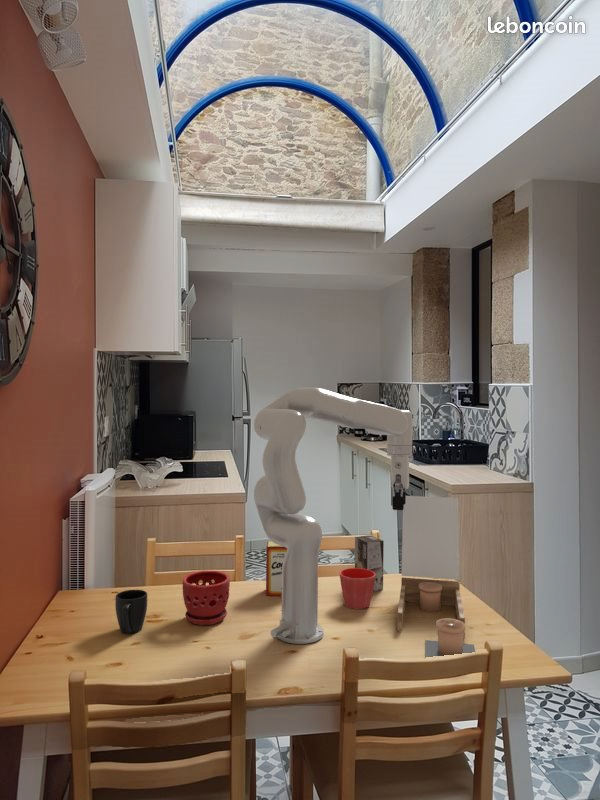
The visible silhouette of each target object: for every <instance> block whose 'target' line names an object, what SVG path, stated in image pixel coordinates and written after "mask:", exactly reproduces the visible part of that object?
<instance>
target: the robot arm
mask: <svg viewBox="0 0 600 800" xmlns="http://www.w3.org/2000/svg"><path fill="white" fill-rule="evenodd" d="M306 419H312V420H317V421H320V422H325V423H328V424H330V425H331V424H333V425H335V426H338V427H342V428H343V427H344V428H349V429H360V430H361V429H364V430H365V431H366V432H367V433H369V434H372V435H379V436H381V435H382V436H386V455H387V456H390V485H391V488H392V491H393V492H392V510H393V511H403V509H404V504H405V503H406V496H407V495H406V490H408V489H409V487H410V458H409V457H412V456H413V414H412V411H410V410H407V409H398V408H396V407H392V406H388V405H385V404H382V403H377V402H376V403H375V402H372V401H367V400H363V399H359V398H354V397H351V396H347V395H344V394H340V393H337V392H333V391H331V390H328V389H324V388H321V387H295V388H293V389H291V390H289V391H287V392H285V393H284V394H283V395H281V396H279V397H278V398H277V399H275V400H273V401H272V402H270V403H269V404H268V405H266V406H265V407H264V408H263V407H262V409H261V410H260V411H259V412H258V413H257V414H256V415H255V417H254V421H253V429H254V432H255V434H256V435H257V436H258V437H259V438H261V439H263V440H266V441H267V443H266V444H265V447H264V451H263V454H262V468H263V471H264V474H265V475H263V476H261V477H260V478H259V479H258V480H257V481H256V483H255V484H254V485H255V486H254V489H253V500H254V504H255V507H256V509H257V513H258V517H259V519H260V523H261V525H262V528H263V531H264V533H265V536H266V537H267V539H269V542H270V541H272V542H273V543H275V544H278V545H280V546H283V547H286V548H287V553H286V556H285V558H284V561H283V565H282V596H281V619H280V620H279V625H278V626H277V627H275V628H273V629H271V630H270V636H271V637H272V638H277V639H278V640H280V641H282V642H285V643H289V644H295V645H303V644H312V643H315V642H318V641H320V640H321V639H322V638H323V636H324V629H323V628H322V626H320V625H319V624H318V616H319V614H318V610H319V607H318V606H319V605H318V604H319V603H318V602H319V600H318V599H319V595H318V594H319V556H320V550H321V546H322V545H321V544H322V539H323V530H322V527H321V525H320V523H319V522H318V521H317V520H316V519H315V518H313V517H311V516H309V515H305V514H303V513H300V512H301V511H303V510H304V508H305V506H306V504H307V503H306V502H307V496H306V491H305V487H304V486H303V482H302V479H301V476H300V471H299V469H298V465H297V460H296V452H297V448H298V447H299V446H298V445H299V443H300V441H301V440H302V438H303V436H304V434H305V433H306V429H307V428H306V427H307V421H306Z"/></svg>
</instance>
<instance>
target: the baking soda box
mask: <svg viewBox="0 0 600 800" xmlns="http://www.w3.org/2000/svg"><path fill="white" fill-rule="evenodd" d="M265 549H266V552H265V553H266V557H265V558H266V559H265V560H266V561H265V562H266V563H265V564H266V566H265V567H266V568H265V570H266V571H265V574H266V575H265V597H282V565H283V561H284V558H285V556H286V553H287V548H286V547H283V546H280V545H278V544H275V543H273V542H272V541H270V540H269V541H267V542H266V548H265Z"/></svg>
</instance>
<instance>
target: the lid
mask: <svg viewBox="0 0 600 800" xmlns="http://www.w3.org/2000/svg"><path fill="white" fill-rule="evenodd" d="M459 503H460V501H459V497H446V496H445V497H442V496H440V497H439V496H420V495H406V503H405V504H404V509H403V510H402V536H401V537H402V539H401V543H402V544H401V576H402V577H411V578H415V577H416V578H426V579H427V578H428V579H439V580H443V579H444V580H453V581H460V530H459V529H460V523H459V522H460V521H459V519H460V518H459V517H460V515H459V512H460V510H459V509H460V507H459V506H460V504H459Z"/></svg>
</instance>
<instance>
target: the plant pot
mask: <svg viewBox="0 0 600 800" xmlns="http://www.w3.org/2000/svg"><path fill="white" fill-rule="evenodd" d="M200 581H202V583H201V584H200V583H199V582H200ZM212 581H213V582H212ZM230 582H231V580H230V576H229V575H228V574H227V573H225V572H222V571H217V570H202V571H195V572H191V573H189V574H187V575H186V576H184V577H183V578H182V597H183V603H184V606H185V608H186V611H185V612H184V613H185V617H186V619H187V621H189V622H190V623H192V624H195V625H199V626H205V625H206V626H207V625H214V624H218V623H220V622H221V621H223V620H224V619H225V618H226V617H227V615H228V611H227V609H226V607H227V606H228V601H229V598H230V586H231V584H230ZM207 584H208V585H207Z"/></svg>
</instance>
